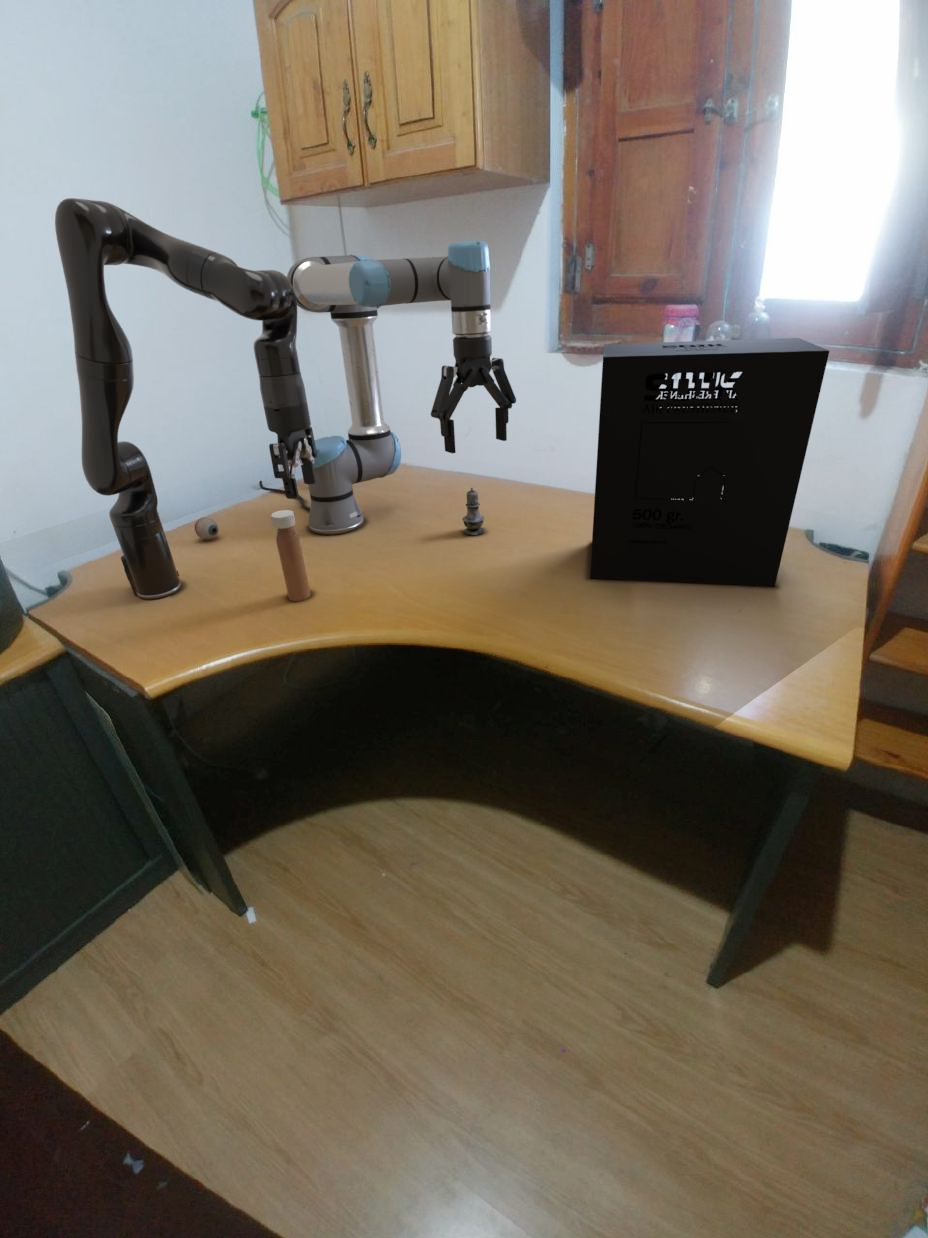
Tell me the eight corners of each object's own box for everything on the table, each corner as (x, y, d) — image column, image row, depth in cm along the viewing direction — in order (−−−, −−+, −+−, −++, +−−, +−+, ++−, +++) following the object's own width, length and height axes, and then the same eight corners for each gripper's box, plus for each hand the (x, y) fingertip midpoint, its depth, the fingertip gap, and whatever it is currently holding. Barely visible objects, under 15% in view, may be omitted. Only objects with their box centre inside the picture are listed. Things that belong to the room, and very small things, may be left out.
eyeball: (208, 544, 161) (202, 523, 158) (193, 540, 164) (187, 519, 161) (226, 536, 166) (220, 516, 163) (211, 533, 169) (205, 512, 166)
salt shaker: (482, 535, 157) (481, 491, 151) (460, 535, 158) (458, 490, 152) (486, 527, 162) (485, 483, 156) (465, 526, 163) (463, 483, 157)
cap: (289, 529, 122) (287, 517, 121) (269, 528, 123) (266, 517, 122) (299, 520, 126) (297, 510, 125) (279, 520, 127) (277, 509, 126)
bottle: (305, 601, 130) (288, 520, 121) (284, 600, 131) (266, 519, 122) (314, 591, 134) (298, 511, 125) (294, 590, 135) (277, 511, 126)
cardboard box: (755, 547, 142) (798, 337, 120) (774, 586, 125) (829, 350, 102) (592, 542, 150) (603, 344, 127) (589, 578, 133) (603, 356, 110)
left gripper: (281, 394, 113) (298, 479, 121) (246, 409, 100) (266, 503, 109) (319, 393, 111) (333, 479, 119) (288, 409, 99) (306, 503, 107)
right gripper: (429, 342, 108) (437, 460, 118) (533, 329, 120) (532, 437, 131) (407, 340, 113) (417, 454, 124) (508, 328, 125) (510, 432, 136)
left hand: (301, 490), depth 114 cm, fingers open, 8 cm apart
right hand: (476, 445), depth 127 cm, fingers open, 13 cm apart
